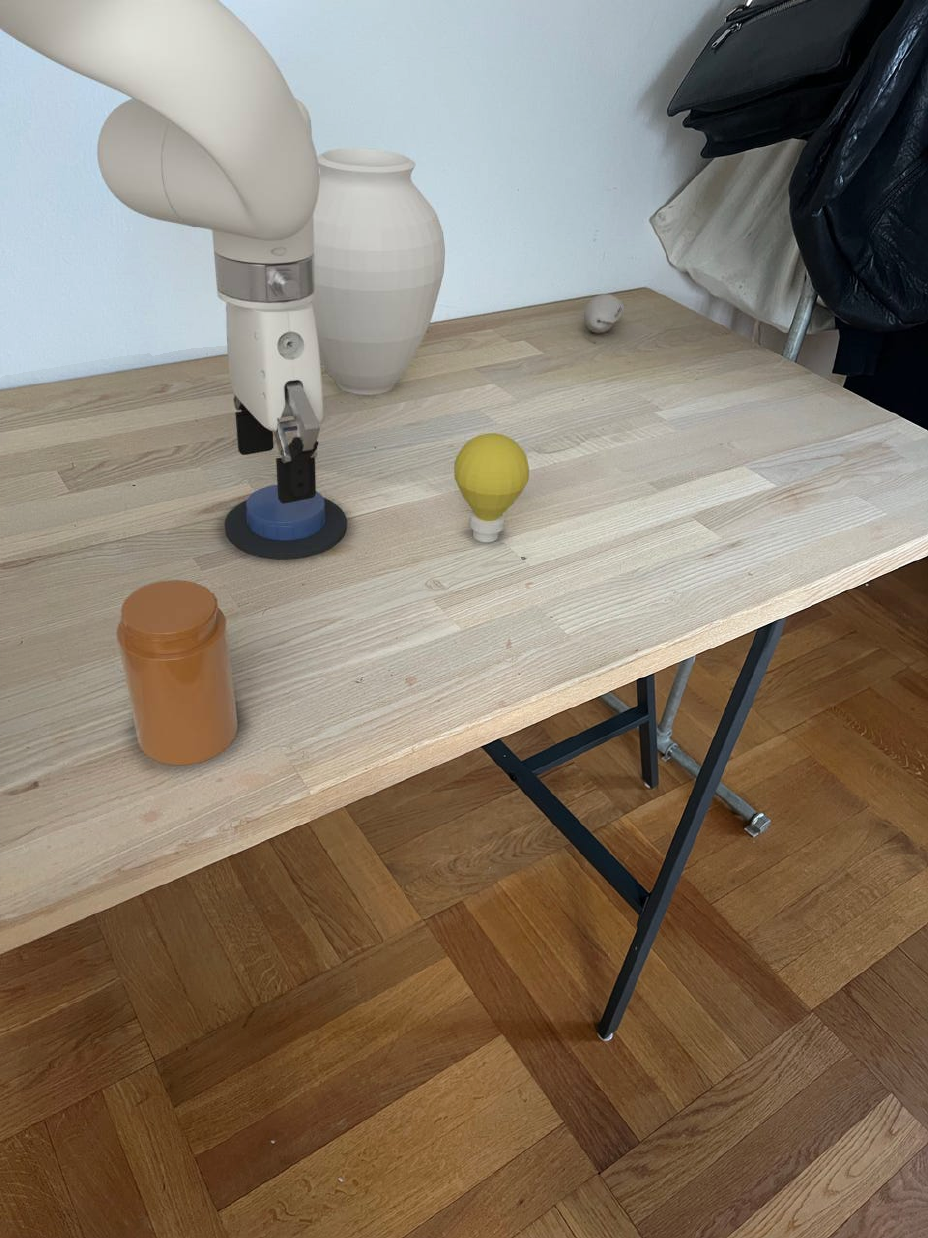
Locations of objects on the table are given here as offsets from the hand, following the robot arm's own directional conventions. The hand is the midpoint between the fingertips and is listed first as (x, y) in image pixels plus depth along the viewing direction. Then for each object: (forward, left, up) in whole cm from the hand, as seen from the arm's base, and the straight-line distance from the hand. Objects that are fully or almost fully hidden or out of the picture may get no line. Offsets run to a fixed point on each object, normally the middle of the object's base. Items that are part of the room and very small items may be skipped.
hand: (275, 474), depth 82 cm
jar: (-15, -22, -6) cm, 27 cm away
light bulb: (+17, -9, -6) cm, 20 cm away
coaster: (+1, 0, -6) cm, 6 cm away
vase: (+22, +27, -6) cm, 35 cm away
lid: (+1, 0, -3) cm, 3 cm away
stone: (+61, +31, -6) cm, 68 cm away
